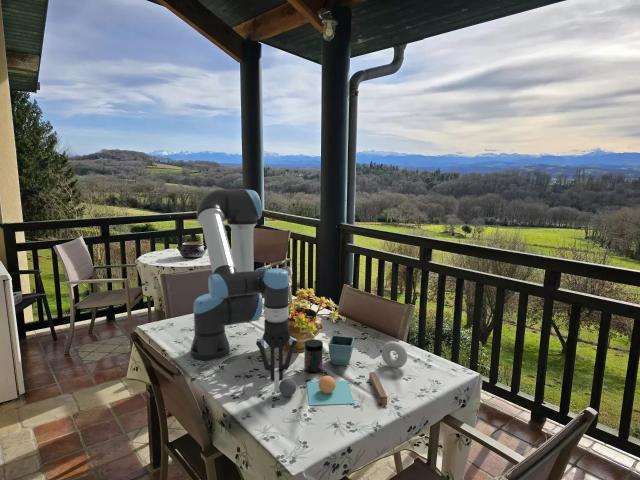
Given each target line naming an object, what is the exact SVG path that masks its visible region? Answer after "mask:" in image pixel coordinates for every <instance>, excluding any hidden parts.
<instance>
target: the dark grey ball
mask: <svg viewBox="0 0 640 480" xmlns="http://www.w3.org/2000/svg"><path fill="white" fill-rule="evenodd" d="M296 391H297V384H296V382H295V380H294V379H292V378H290V377H286V378H283V380H280V382H279V392H280V394H281V395H282V396H284V397H292V396H293V395H294V394H295V393H296Z"/></svg>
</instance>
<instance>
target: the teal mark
mask: <svg viewBox="0 0 640 480" xmlns="http://www.w3.org/2000/svg"><path fill="white" fill-rule="evenodd" d="M335 384H336V386H335V389H334V391H333V392H331V393H329V394H325V393H323V392H322V391H321V390H320V389H319V381H307V382H306V387H307V396H308V404H309V405H308V406H310V407H313V406H331V405H333V406H334V405H335V406H336V405H337V406H338V405H355V404H356V403H355V400H354V396H353V393H352V390H351V388H350V385H349V381H348V380H335Z"/></svg>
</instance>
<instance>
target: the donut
mask: <svg viewBox="0 0 640 480" xmlns="http://www.w3.org/2000/svg"><path fill="white" fill-rule="evenodd" d="M392 351H393V352H396V354H397V358H394V357H393V356H392V353H391V352H392ZM381 357H382V359H383V362H384V363H385V364H386V365H387V366H388V367H390V368H392V369H399V368H402V367H403V366H404V365H406V363H407V361H408V353H407V350H406V348H405V347H404V345H402V344H401V343H400V342H397V341H393V340H391V341H387V342H385V344H384V345H383V346H382V348H381Z"/></svg>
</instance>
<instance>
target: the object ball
mask: <svg viewBox="0 0 640 480" xmlns="http://www.w3.org/2000/svg"><path fill="white" fill-rule="evenodd" d="M335 381H336V380H335V379H334V378H333V377H332V376H330V375H324V376H322V377H321V378H320V379H319V381H318V382H319V389H320V390H321V391H322V392H323V393H325V394H329V393H331V392H333V391H334V389H335V386H336V384H335Z"/></svg>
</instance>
